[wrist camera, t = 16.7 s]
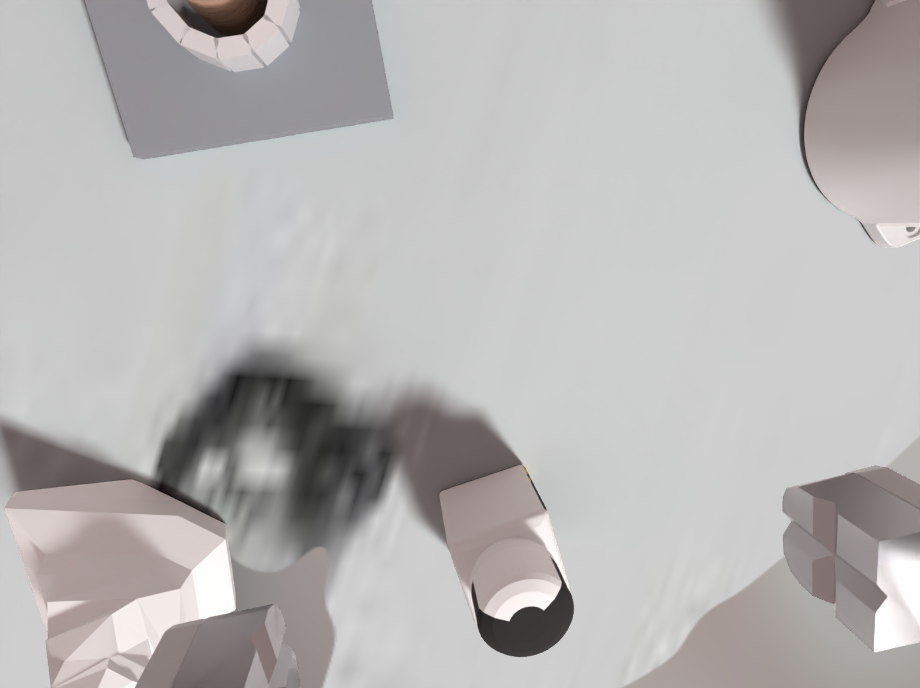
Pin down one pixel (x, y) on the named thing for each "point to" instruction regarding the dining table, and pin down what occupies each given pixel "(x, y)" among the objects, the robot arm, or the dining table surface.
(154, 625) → the soft serve ice cream
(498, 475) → the medicine bottle
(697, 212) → the dining table surface
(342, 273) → the dining table surface
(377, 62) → the collar plate
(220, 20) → the copper tube
